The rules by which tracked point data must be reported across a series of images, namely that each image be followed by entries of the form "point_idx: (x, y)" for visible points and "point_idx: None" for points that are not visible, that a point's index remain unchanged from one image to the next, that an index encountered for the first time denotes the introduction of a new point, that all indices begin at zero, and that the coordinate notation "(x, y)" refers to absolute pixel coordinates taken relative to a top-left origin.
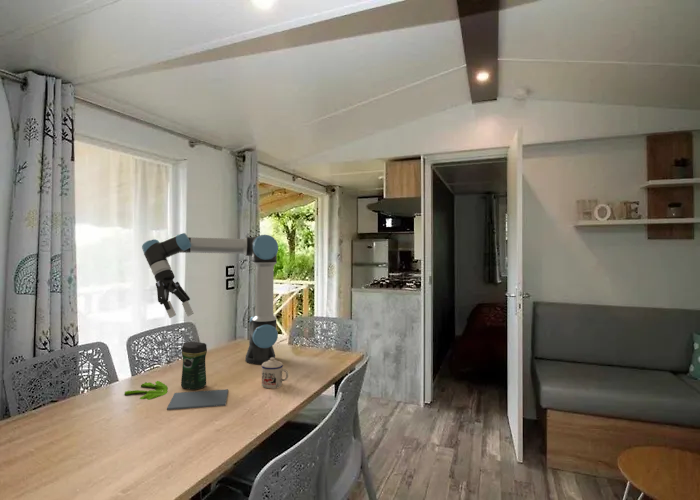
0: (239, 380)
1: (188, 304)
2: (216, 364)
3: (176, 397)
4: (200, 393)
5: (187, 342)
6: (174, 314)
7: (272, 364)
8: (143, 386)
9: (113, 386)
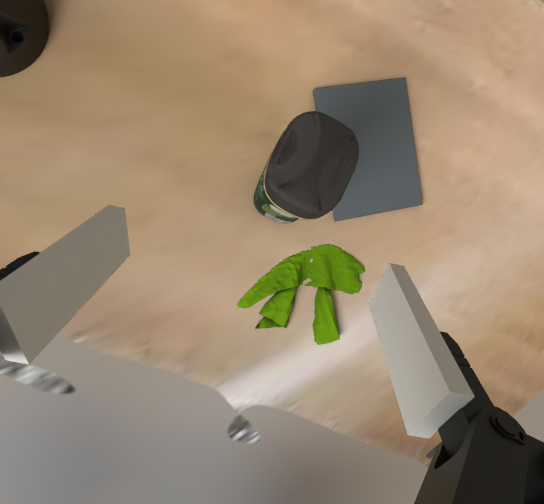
0: (229, 70)
1: (52, 266)
2: (58, 180)
3: (365, 205)
4: None
5: (313, 196)
6: (404, 272)
7: None
8: (287, 319)
9: (279, 395)
